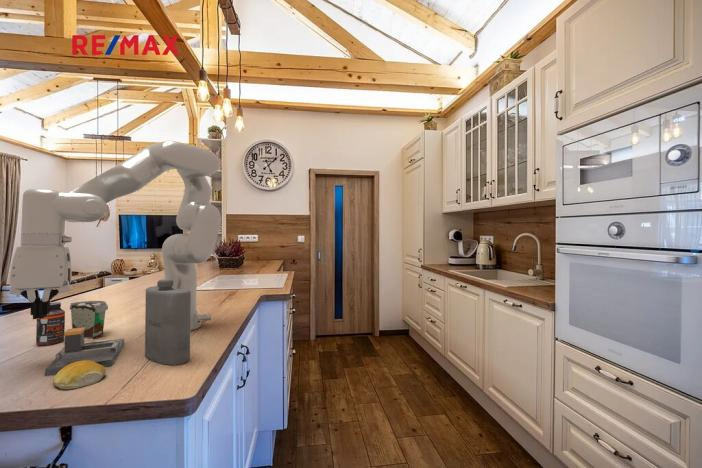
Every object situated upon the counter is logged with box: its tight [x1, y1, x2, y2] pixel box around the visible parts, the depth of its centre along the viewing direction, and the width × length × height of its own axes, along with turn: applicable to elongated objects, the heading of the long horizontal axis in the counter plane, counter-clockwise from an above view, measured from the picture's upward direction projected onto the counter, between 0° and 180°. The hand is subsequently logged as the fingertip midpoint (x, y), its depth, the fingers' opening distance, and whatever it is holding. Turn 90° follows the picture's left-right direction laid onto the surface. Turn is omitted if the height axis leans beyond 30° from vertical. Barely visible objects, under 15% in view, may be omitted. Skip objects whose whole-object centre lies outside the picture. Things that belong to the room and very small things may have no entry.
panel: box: [44, 338, 125, 377], centre depth 80 cm, size 12×17×3 cm
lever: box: [64, 327, 85, 352], centre depth 79 cm, size 3×3×6 cm
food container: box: [69, 300, 109, 340], centre depth 99 cm, size 12×6×10 cm, turn 71°
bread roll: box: [52, 360, 107, 390], centre depth 68 cm, size 8×9×4 cm
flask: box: [144, 278, 191, 366], centre depth 81 cm, size 15×6×20 cm, turn 60°
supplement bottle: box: [35, 301, 66, 346], centre depth 91 cm, size 6×6×11 cm
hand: (40, 317), depth 75 cm, fingers closed
